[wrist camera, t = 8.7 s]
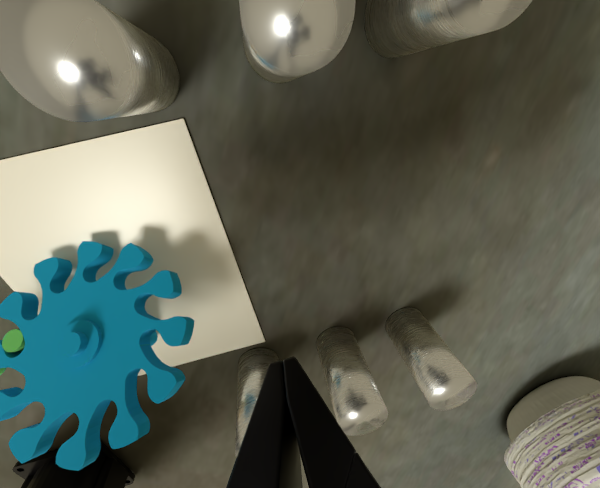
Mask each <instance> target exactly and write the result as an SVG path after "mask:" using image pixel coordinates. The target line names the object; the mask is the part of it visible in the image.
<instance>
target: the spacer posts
mask: <svg viewBox="0 0 600 488" xmlns="http://www.w3.org/2000/svg"><path fill="white" fill-rule="evenodd" d="M531 2H532V0H368V3H367V6H366V10H365V16H364V28H365V33H366V37H367V40H368V42H369V44H370V46H371V47H372V49H373V50H374V51H375V52H376V53H378V54H379V55H381V56H383V57H386V58H397V57H401V56H405V55H408V54H412V53H416V52H419V51H423V50H427V49H430V48H434V47H438V46H441V45H445V44H448V43H452V42H456V41H459V40H463V39H467V38H470V37H474V36H478V35H481V34H485V33H489V32H492V31H495V30H499V29H501V28H503V27H505V26H507V25H508V24H510V23H511V22H513V21H514V20H515V19H516V18H518V17H519V16H520V15H521V14H522V13H523V12H524V11H525V9H526V8H527V7H528V6H529V5H530V3H531ZM239 6H240V16H241V26H242V36H243V46H244V52H245V55H246V58H247V60H248V62H249V64H250V66H251V67H252V69H253V70H254V71H255V72H256V74H258V75H259V76H260V77H261V78H263V79H264V80H266V81H268V82H272V83H286V82H289V81H292V80H294V79H297V78H299V77H302V76H304V75H306V74H309V73H311V72H314V71H316V70H318V69H320V68H322V67H324V66H325V65H327V64H328V63H330V62H331V61H332V60H333V59H334V58H335V57H336V56H337V55H338V53H339V52H340V51H341V49H342V48H343V46H344V44H345V43H346V41H347V39H348V36H349V34H350V31H351V28H352V24H353V20H354V14H355V0H239ZM0 71H1V72H2V73H3V75H4V76H5V78H6V79H7V80H8V82H9V83H10V84H11V85H12V86H13V87H14V88H15V89H16V91H17V92H18V93H19V94H20V95H22V96H23V97H24V98H25V99H26V100H27V101H29V102H30V103H32V104H33V105H34V106H36V107H37V108H39V109H41V110H43V111H44V112H46V113H48V114H50V115H53V116H55V117H58V118H61V119H64V120H69V121H75V122H90V121H97V120H104V119H111V118H118V117H124V116H131V115H138V114H145V113H152V112H158V111H161V110H164V109H166V108H167V107H169V106H170V105H171V104H172V103H173V101H174V100H175V98H176V96H177V94H178V91H179V84H180V79H179V72H178V68H177V65H176V63H175V61H174V59H173V57H172V55H171V54H170V52H169V51H168V50H167V49H166V47H165V46H164V45H163V44H162V43H160V42H159V41H158V40H157V39H155V38H154V37H152V36H150V35H149V34H147V33H146V32H144V31H143V30H141V29H139V28H138V27H136V26H135V25H133V24H132V23H130V22H128V21H127V20H125V19H124V18H122V17H121V16H119V15H117V14H116V13H114V12H113V11H111V10H110V9H108V8H107V7H105V6H103V5H102V4H100V3H99V2H97V1H96V0H0ZM385 329H386V332H387V334H388V335H389V337H390V339H391V340H392V342H393V344H394V345H395V347H396V349H397V350H398V352H399V354H400V356H401V357H402V359H403V361H404V362H405V364H406V366H407V367H408V369H409V371H410V373H411V374H412V376H413V378H414V379H415V381H416V383H417V384H418V386H419V388H420V389H421V391H422V393H423V395H424V396H425V398H426V400H427V401H428V403H429V405H430V406H431V407H432V408H433V409H435V410H449V409H452V408H455V407H458V406H460V405H461V404H463V403H465V402H466V401H467V400H469V399H470V398H471V397H472V396H473V394H474V393H475V391H476V389H477V383H476V381H475V379H474V378H473V377H472V376H471V374H470V373H469V372H468V371H467V370H466V368H465V367H464V366H463V365H462V363H461V362H460V361H459V360H458V358H457V357H456V356H455V355H454V353H453V352H452V351H451V350H450V348H449V347H448V346H447V345H446V343H445V342H444V341H443V340H442V338H441V337H440V336H439V335H438V333H437V332H436V331H435V330H434V328H433V327H432V326H431V325H430V323H429V322H428V321H427V320H426V318H425V317H424V316H423V315H422V313H421V312H420V311H419V310H418V309H416V308H411V307H408V308H403V309H400V310H398V311H396V312H394V313H393V314H392V315H391V316H390V317H389V318H388V320H387V322H386V325H385ZM316 347H317V350H318V354H319V358H320V361H321V365H322V369H323V372H324V376H325V380H326V383H327V387H328V391H329V394H330V398H331V402H332V405H333V409H334V413H335V416H336V420H337V422H338V424H339V425H340V427H341V428H342V430H343V432H344V433H345V434H346V435H352V436H357V435H363V434H367V433H370V432H372V431H374V430H376V429H377V428H379V427H380V426H381V425H382V424H383V423H384V422H385V421H386V419H387V417H388V410H387V408H386V406H385V404H384V401H383V399H382V397H381V395H380V392H379V390H378V388H377V386H376V383H375V381H374V379H373V377H372V374H371V372H370V370H369V368H368V365H367V363H366V361H365V359H364V356H363V354H362V352H361V350H360V347H359V345H358V343H357V341H356V338H355V336H354V334H353V332H352V331H351V330H350V329H348V328H346V327H332V328H330V329H327V330H326V331H324V332H323V333H322V334H321V335H320V336H319V337H318V339H317V342H316ZM276 361H279V358H278V356H277V354H276V353H275V352H274V351H272V350H270V349H267V348H255V349H252V350H249V351H247V352H246V353H244V354H243V355H242V356H241V358H240V359H239V366H238V392H237V418H236V444H235V455H236V457H237V455H238V452H239V450H240V447H241V444H242V441H243V438H244V435H245V432H246V429H247V427H248V424H249V421H250V418H251V415H252V412H253V409H254V406H255V404H256V401H257V398H258V395H259V392H260V389H261V386H262V383H263V380H264V378H265V375H266V372H267V369H268V366H269V364H270V363H272V362H276Z"/></svg>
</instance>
